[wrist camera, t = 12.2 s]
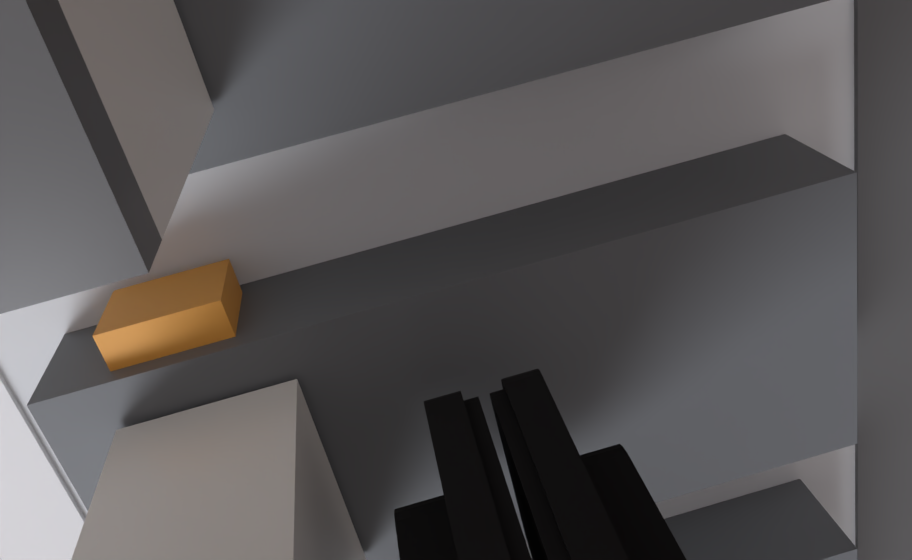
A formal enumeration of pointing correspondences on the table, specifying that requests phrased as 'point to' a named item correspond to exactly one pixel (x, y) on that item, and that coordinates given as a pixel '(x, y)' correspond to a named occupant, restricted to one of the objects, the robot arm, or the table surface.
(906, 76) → the breaker panel
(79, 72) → the block
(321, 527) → the block
